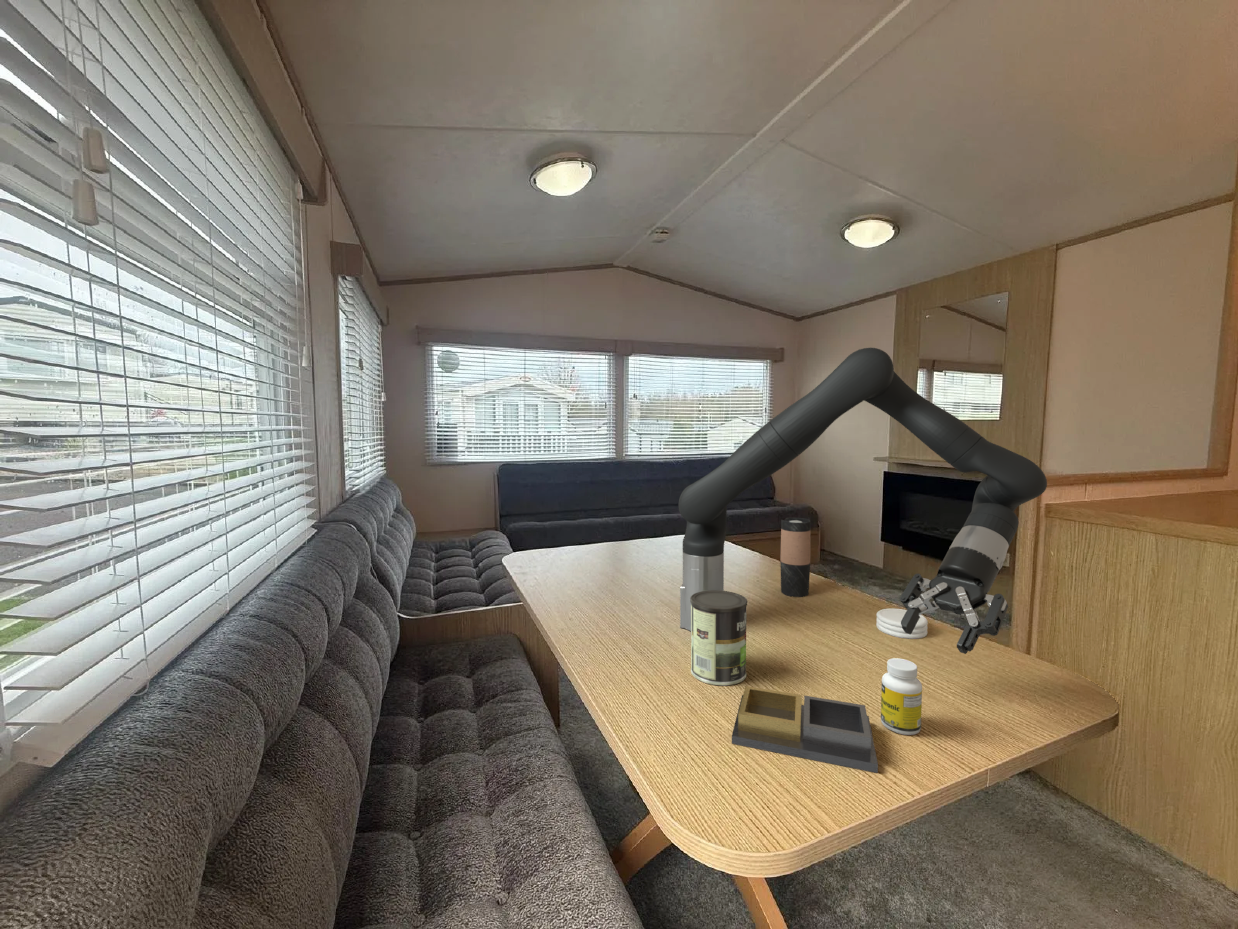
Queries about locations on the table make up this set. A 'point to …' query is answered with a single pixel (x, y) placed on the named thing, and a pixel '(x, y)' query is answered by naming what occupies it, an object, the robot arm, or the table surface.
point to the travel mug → (795, 556)
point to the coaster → (899, 624)
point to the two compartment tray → (806, 728)
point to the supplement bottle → (901, 697)
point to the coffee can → (718, 637)
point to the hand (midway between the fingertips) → (932, 640)
